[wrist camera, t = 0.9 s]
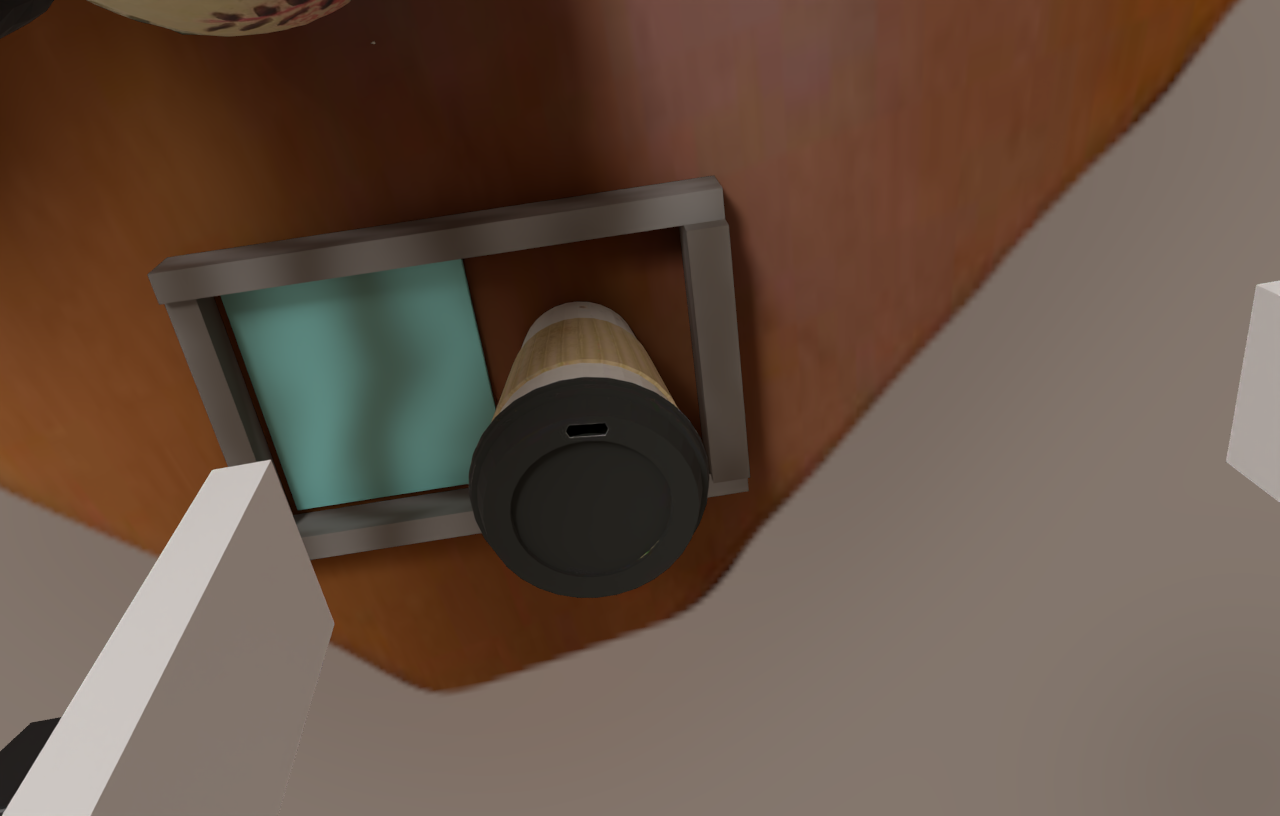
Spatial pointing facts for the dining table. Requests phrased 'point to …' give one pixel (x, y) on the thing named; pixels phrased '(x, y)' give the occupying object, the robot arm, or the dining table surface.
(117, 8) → the ceramic jug
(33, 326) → the dining table surface
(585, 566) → the coffee cup
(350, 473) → the bay
